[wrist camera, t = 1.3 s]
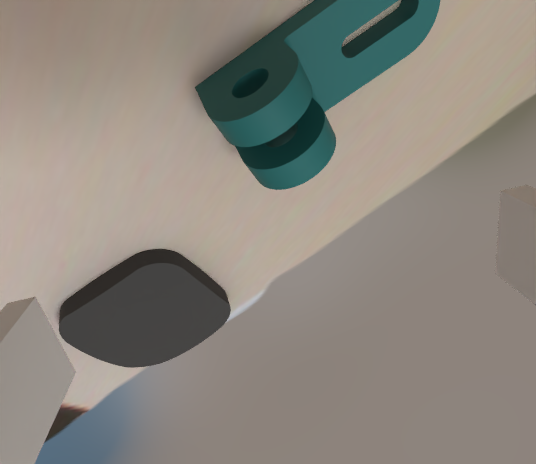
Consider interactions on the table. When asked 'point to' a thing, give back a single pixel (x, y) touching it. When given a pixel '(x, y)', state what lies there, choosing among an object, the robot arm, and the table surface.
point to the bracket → (307, 82)
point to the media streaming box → (144, 310)
